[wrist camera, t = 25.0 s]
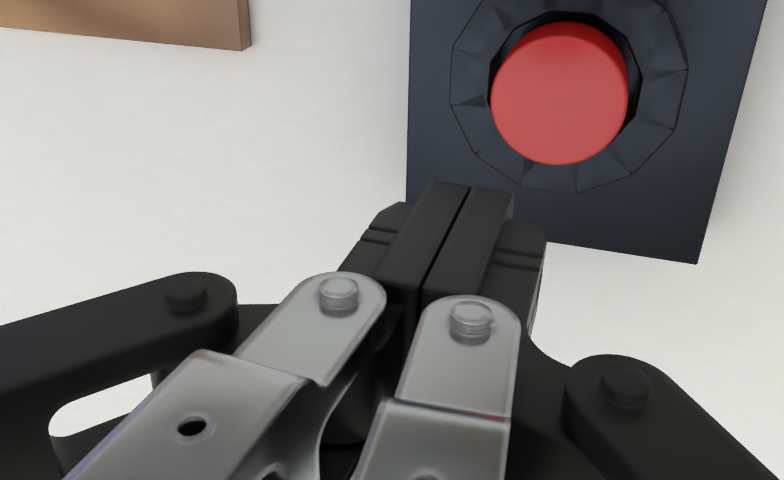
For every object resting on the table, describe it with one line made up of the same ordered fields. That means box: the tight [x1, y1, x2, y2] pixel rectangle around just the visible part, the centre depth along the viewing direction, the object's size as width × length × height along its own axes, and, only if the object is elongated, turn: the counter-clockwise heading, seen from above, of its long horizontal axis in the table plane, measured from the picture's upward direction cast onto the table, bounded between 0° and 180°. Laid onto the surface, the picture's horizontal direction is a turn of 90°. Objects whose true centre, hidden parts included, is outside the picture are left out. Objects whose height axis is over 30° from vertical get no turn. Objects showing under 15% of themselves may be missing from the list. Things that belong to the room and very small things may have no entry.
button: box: [491, 21, 629, 165], centre depth 20 cm, size 4×4×2 cm
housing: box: [406, 0, 767, 265], centre depth 22 cm, size 12×10×4 cm
